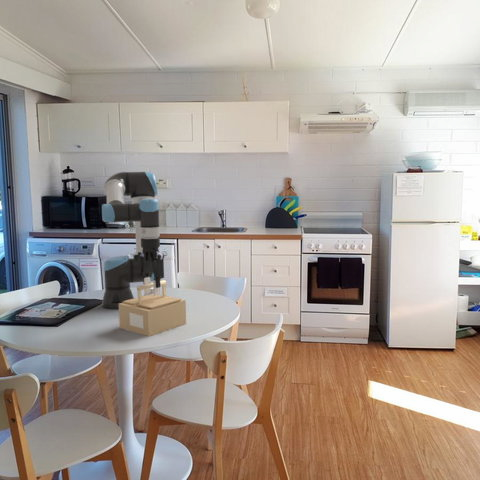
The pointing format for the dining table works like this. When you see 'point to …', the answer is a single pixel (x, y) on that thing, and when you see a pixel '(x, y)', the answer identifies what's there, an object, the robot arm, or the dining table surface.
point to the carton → (151, 316)
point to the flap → (158, 301)
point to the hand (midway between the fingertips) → (152, 294)
